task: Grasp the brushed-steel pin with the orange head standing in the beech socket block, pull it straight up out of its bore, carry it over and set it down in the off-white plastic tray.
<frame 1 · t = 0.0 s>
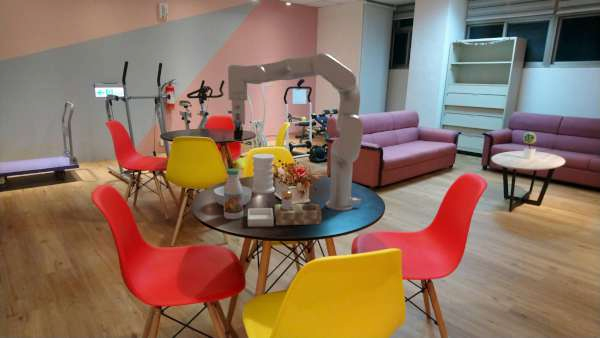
hand: (238, 137, 156), 31 cm above the table, fingers open, 9 cm apart
cereal bowl: (233, 205, 167), on the table
milk bottle: (233, 216, 154), on the table
pin: (286, 220, 151), resting in socket block
socket block: (297, 219, 152), on the table
tray: (260, 220, 150), on the table
decorative container: (263, 190, 189), on the table
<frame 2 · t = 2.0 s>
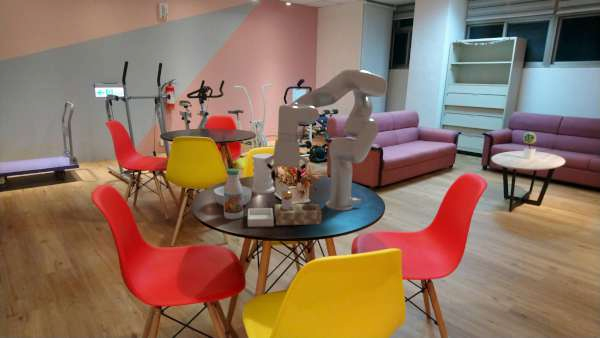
hand: (286, 180, 147), 17 cm above the table, fingers open, 9 cm apart
nothing on the table moved.
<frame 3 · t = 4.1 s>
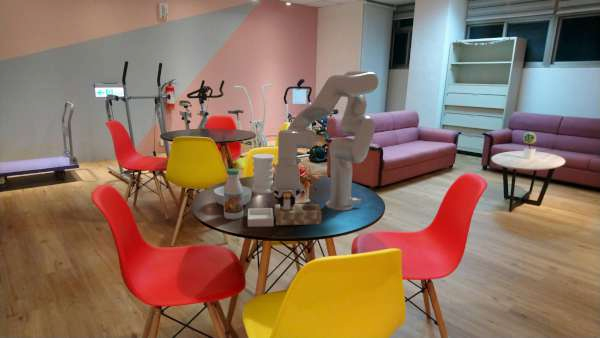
hand: (286, 205, 150), 6 cm above the table, fingers closed on pin, 4 cm apart
pin: (286, 220, 151), resting in socket block, touching gripper
everything else where it was.
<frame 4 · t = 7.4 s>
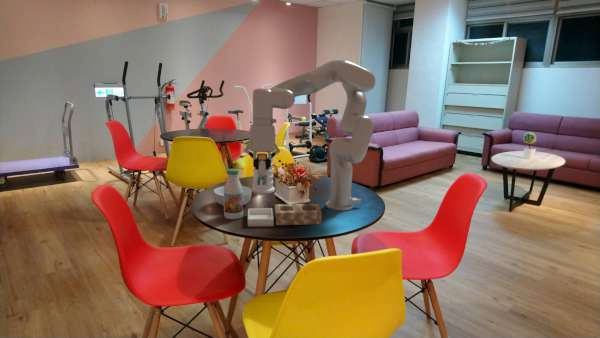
hand: (261, 168, 145), 22 cm above the table, fingers closed on pin, 4 cm apart
pin: (261, 184, 146), point 15 cm above the table, touching gripper
everything else where it was.
when the fingers open (8 cm above the table, at t = 10.7 s): pin stays where it is, resting on tray.
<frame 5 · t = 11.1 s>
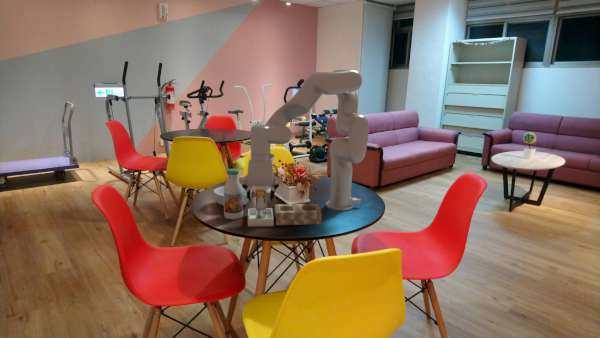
hand: (260, 199, 148), 9 cm above the table, fingers open, 8 cm apart
pin: (260, 218, 150), point 1 cm above the table, touching tray
everything else where it was.
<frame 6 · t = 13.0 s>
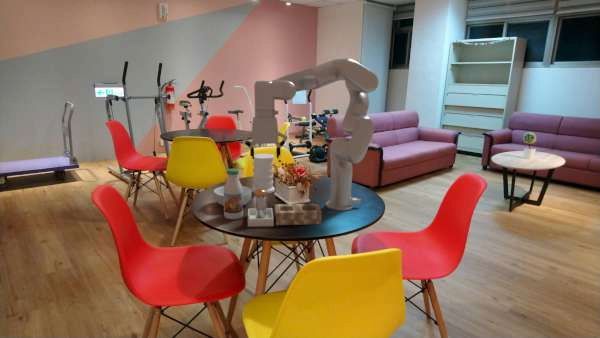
hand: (265, 157, 146), 26 cm above the table, fingers open, 9 cm apart
nothing on the table moved.
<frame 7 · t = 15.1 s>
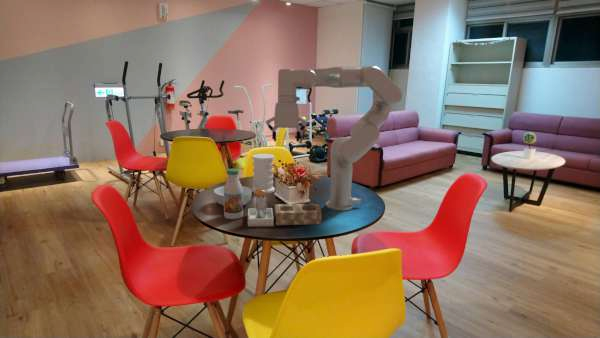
hand: (286, 141, 156), 30 cm above the table, fingers open, 9 cm apart
nothing on the table moved.
at the end: pin inside the target area on the tray (0.1 cm from its centre), point 0.8 cm above the tray's base; pin touching tray; the gripper is holding nothing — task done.
